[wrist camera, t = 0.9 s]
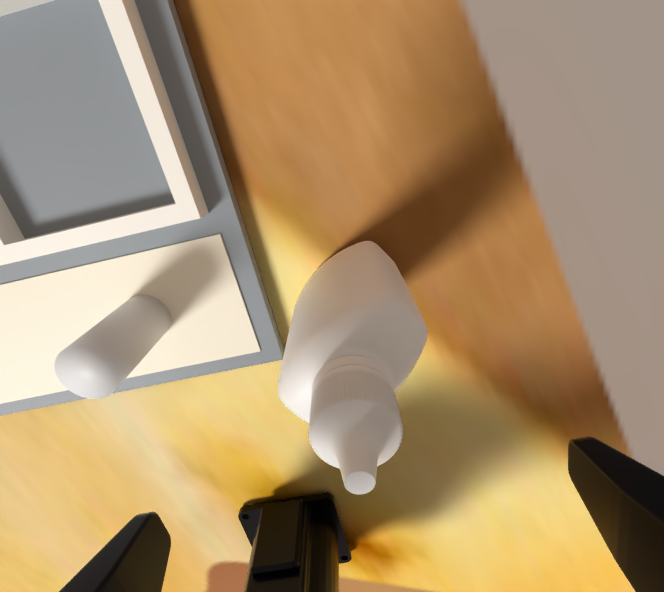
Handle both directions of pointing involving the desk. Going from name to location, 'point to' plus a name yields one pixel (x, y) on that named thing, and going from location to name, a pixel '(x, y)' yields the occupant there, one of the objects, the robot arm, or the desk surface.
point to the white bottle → (352, 360)
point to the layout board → (115, 210)
